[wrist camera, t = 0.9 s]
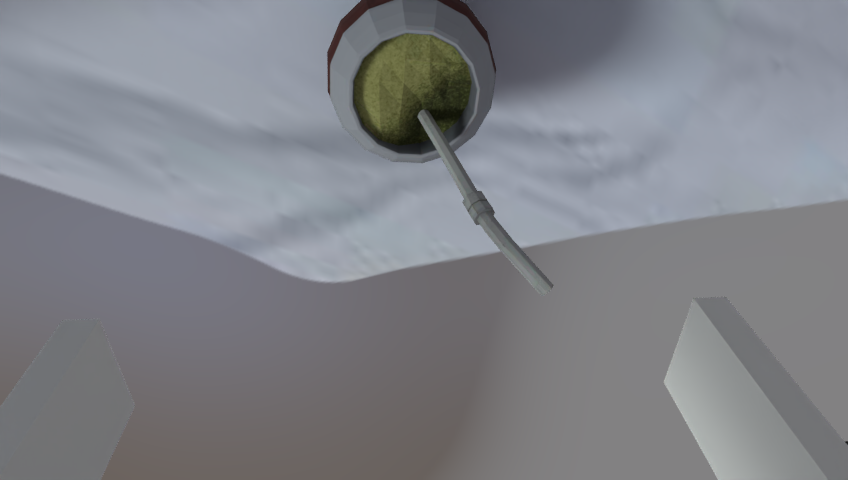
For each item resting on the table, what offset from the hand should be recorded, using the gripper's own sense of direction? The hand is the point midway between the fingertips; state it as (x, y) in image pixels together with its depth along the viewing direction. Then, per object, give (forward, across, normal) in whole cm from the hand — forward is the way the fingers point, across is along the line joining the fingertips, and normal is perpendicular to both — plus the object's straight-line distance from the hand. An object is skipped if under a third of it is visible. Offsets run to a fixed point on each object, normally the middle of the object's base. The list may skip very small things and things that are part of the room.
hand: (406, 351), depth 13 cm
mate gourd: (+20, +1, +2) cm, 20 cm away
